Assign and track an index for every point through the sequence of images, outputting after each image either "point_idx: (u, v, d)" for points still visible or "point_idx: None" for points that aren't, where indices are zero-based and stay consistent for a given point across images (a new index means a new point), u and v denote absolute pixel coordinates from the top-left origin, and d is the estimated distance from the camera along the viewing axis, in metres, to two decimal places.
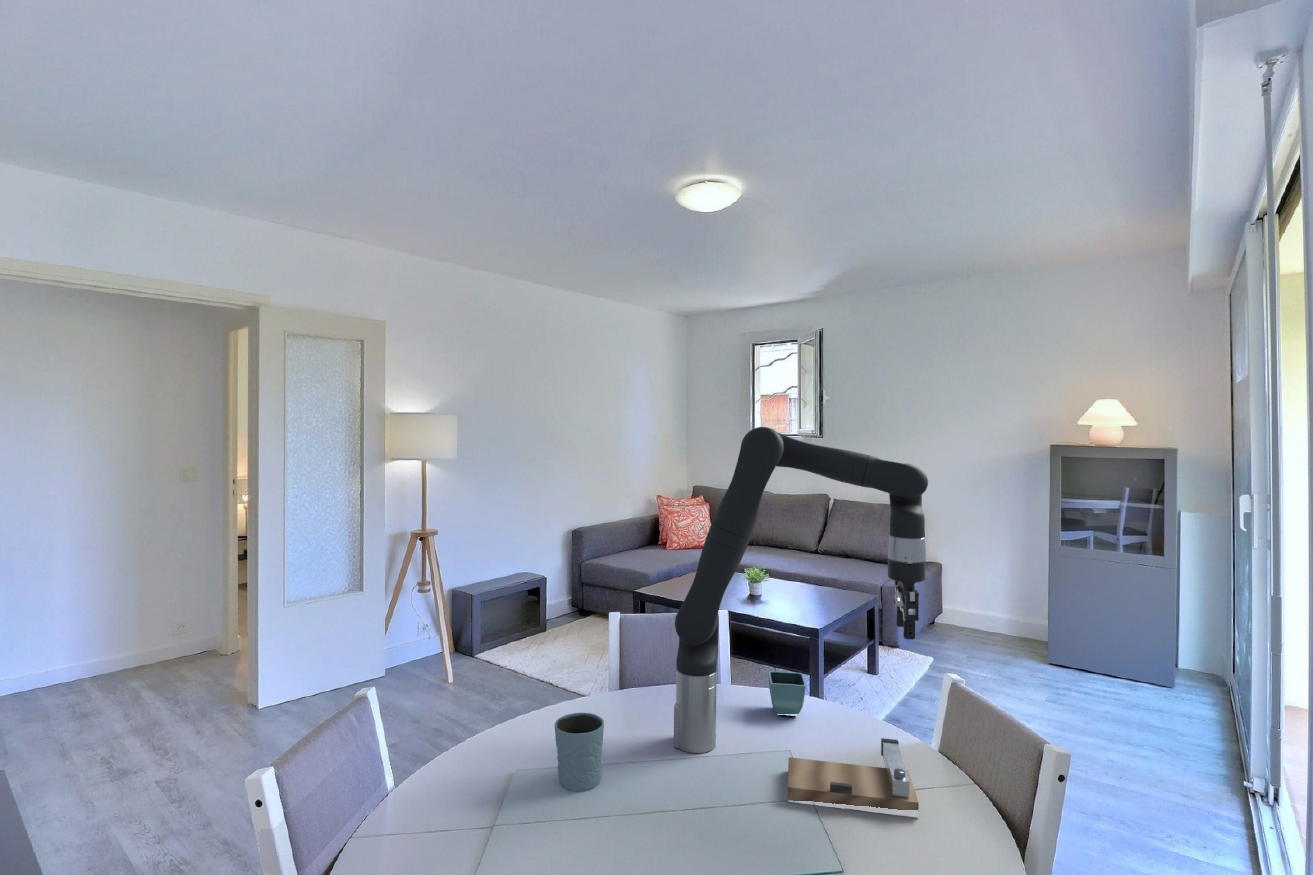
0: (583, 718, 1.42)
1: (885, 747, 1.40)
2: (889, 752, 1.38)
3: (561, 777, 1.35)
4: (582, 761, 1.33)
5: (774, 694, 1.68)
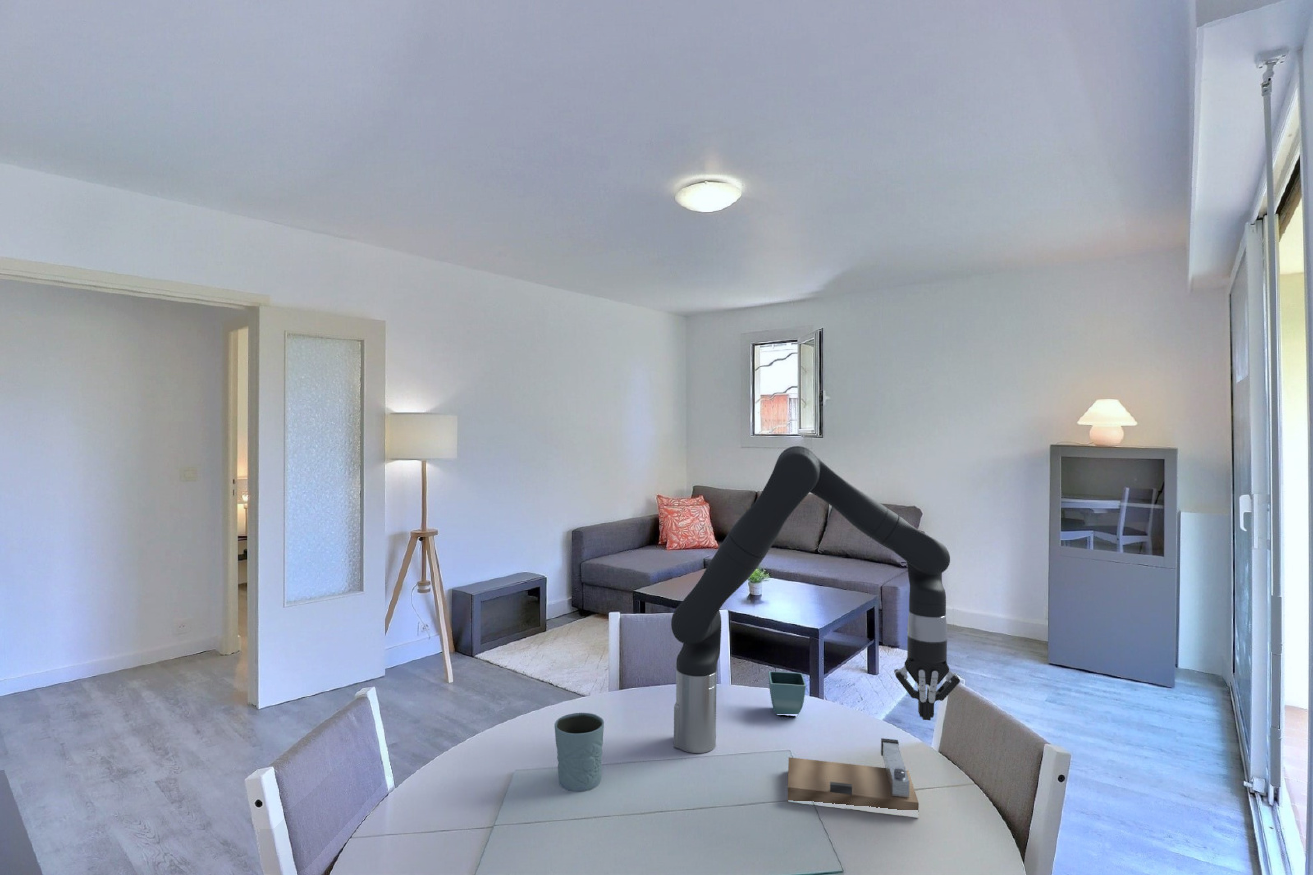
0: (583, 718, 1.42)
1: (885, 747, 1.40)
2: (889, 752, 1.38)
3: (561, 777, 1.35)
4: (582, 761, 1.33)
5: (774, 694, 1.68)
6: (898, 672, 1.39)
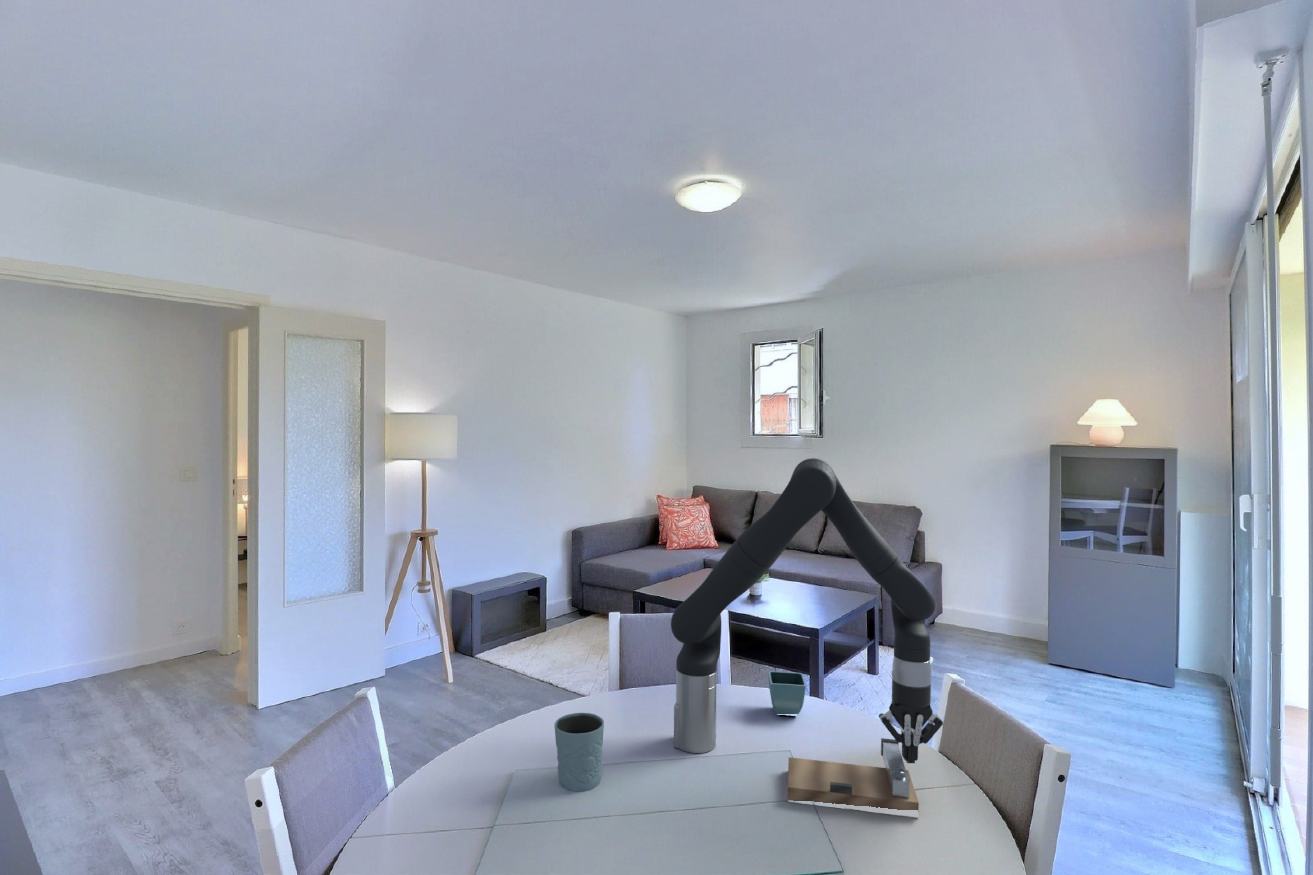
0: (583, 718, 1.42)
1: (885, 747, 1.40)
2: (889, 752, 1.38)
3: (561, 777, 1.35)
4: (582, 761, 1.33)
5: (774, 694, 1.68)
6: (884, 717, 1.39)
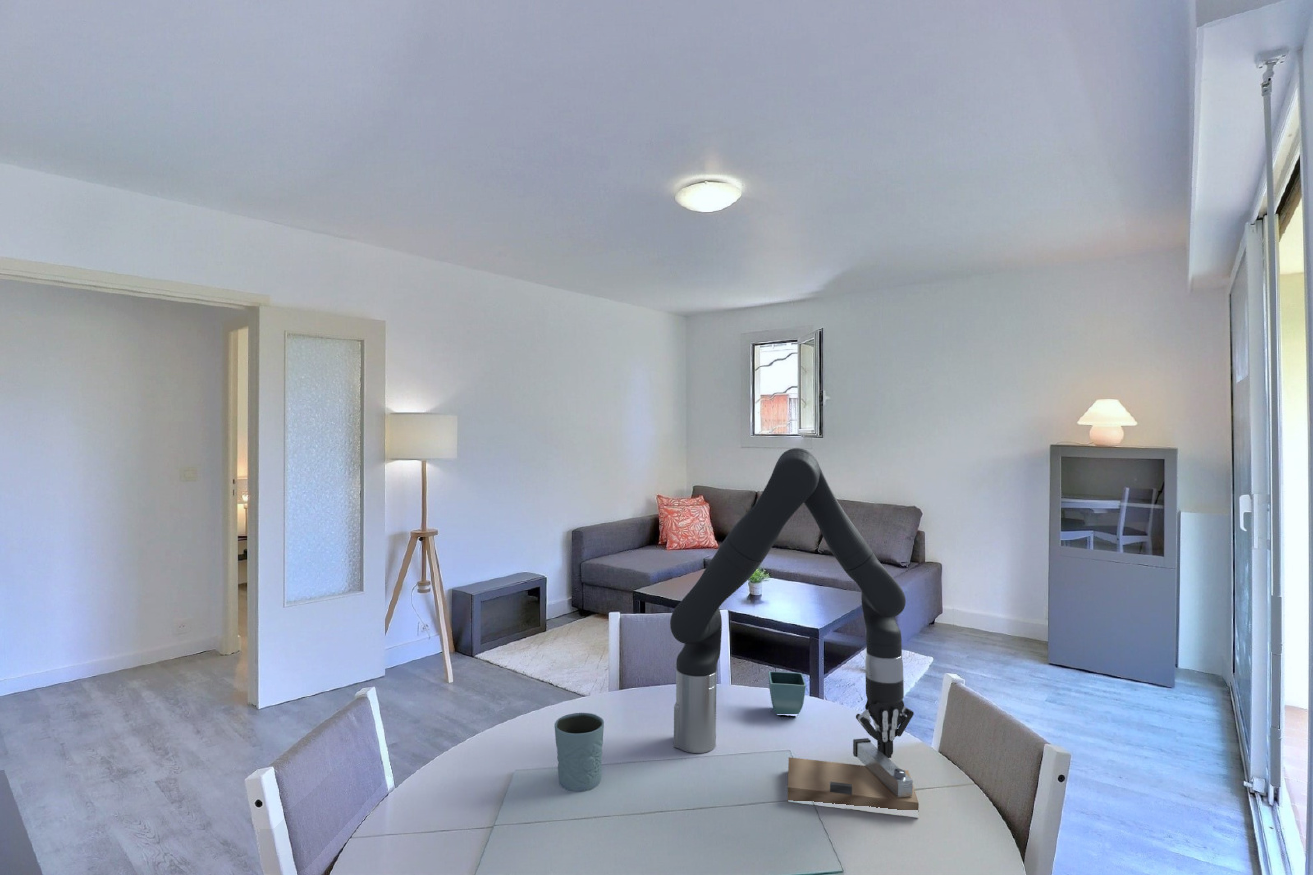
0: (583, 718, 1.42)
1: (864, 748, 1.40)
2: (871, 753, 1.38)
3: (561, 777, 1.35)
4: (582, 761, 1.33)
5: (774, 694, 1.68)
6: (863, 717, 1.38)
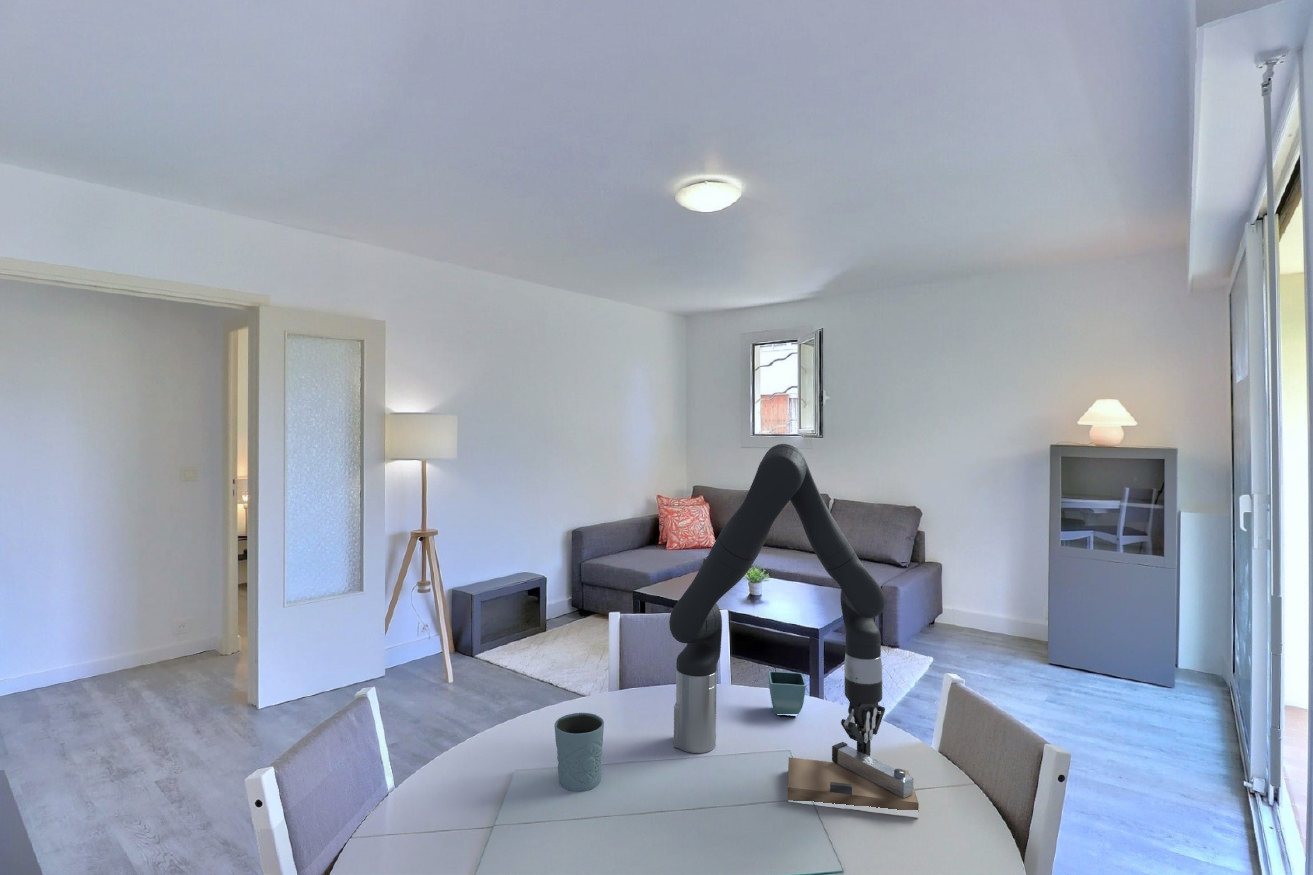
0: (583, 718, 1.42)
1: (847, 753, 1.38)
2: (858, 756, 1.36)
3: (561, 777, 1.35)
4: (582, 761, 1.33)
5: (774, 694, 1.68)
6: (850, 722, 1.36)
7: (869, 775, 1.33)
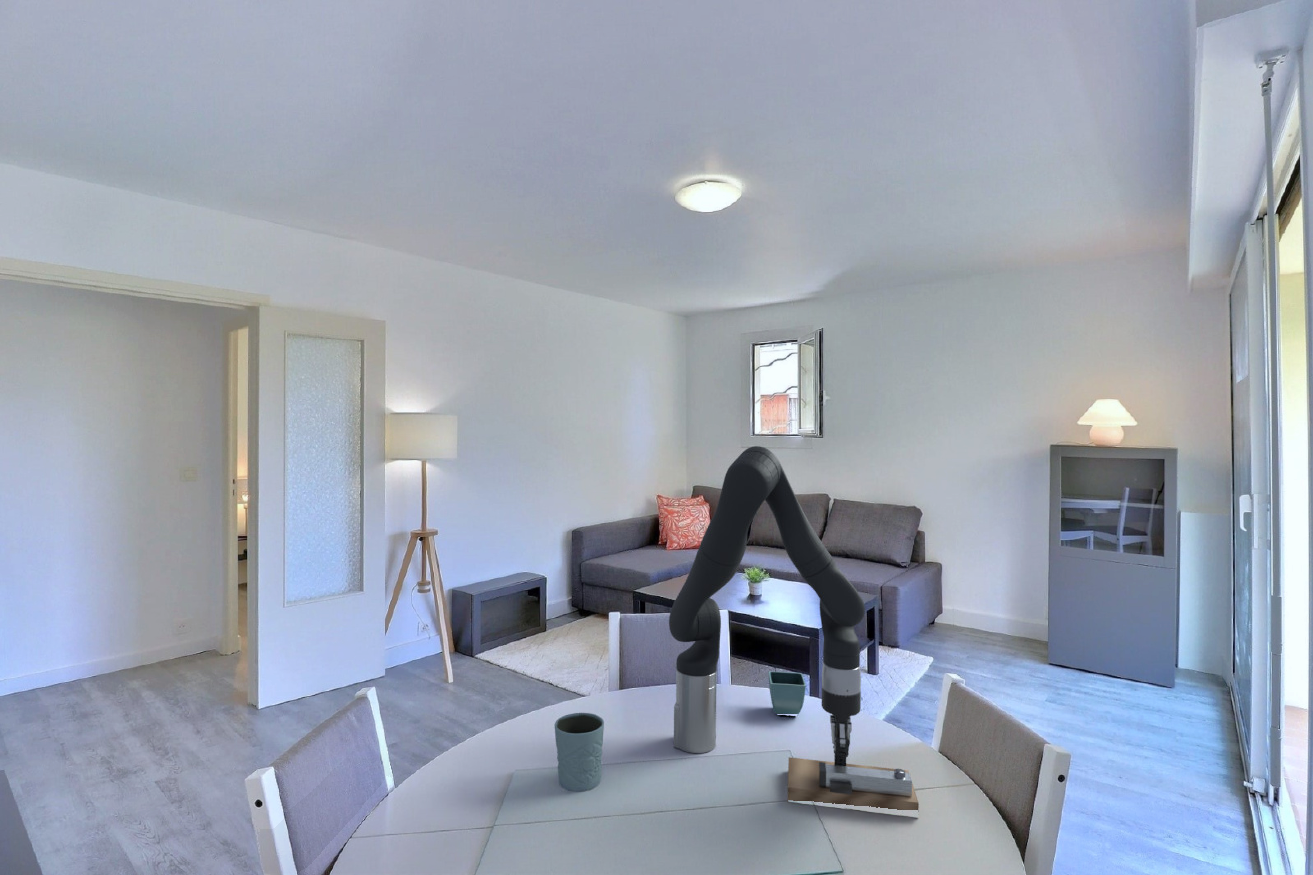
0: (583, 718, 1.42)
1: (839, 772, 1.30)
2: (850, 772, 1.30)
3: (561, 777, 1.35)
4: (582, 761, 1.33)
5: (774, 694, 1.68)
6: (846, 738, 1.29)
7: (869, 786, 1.29)
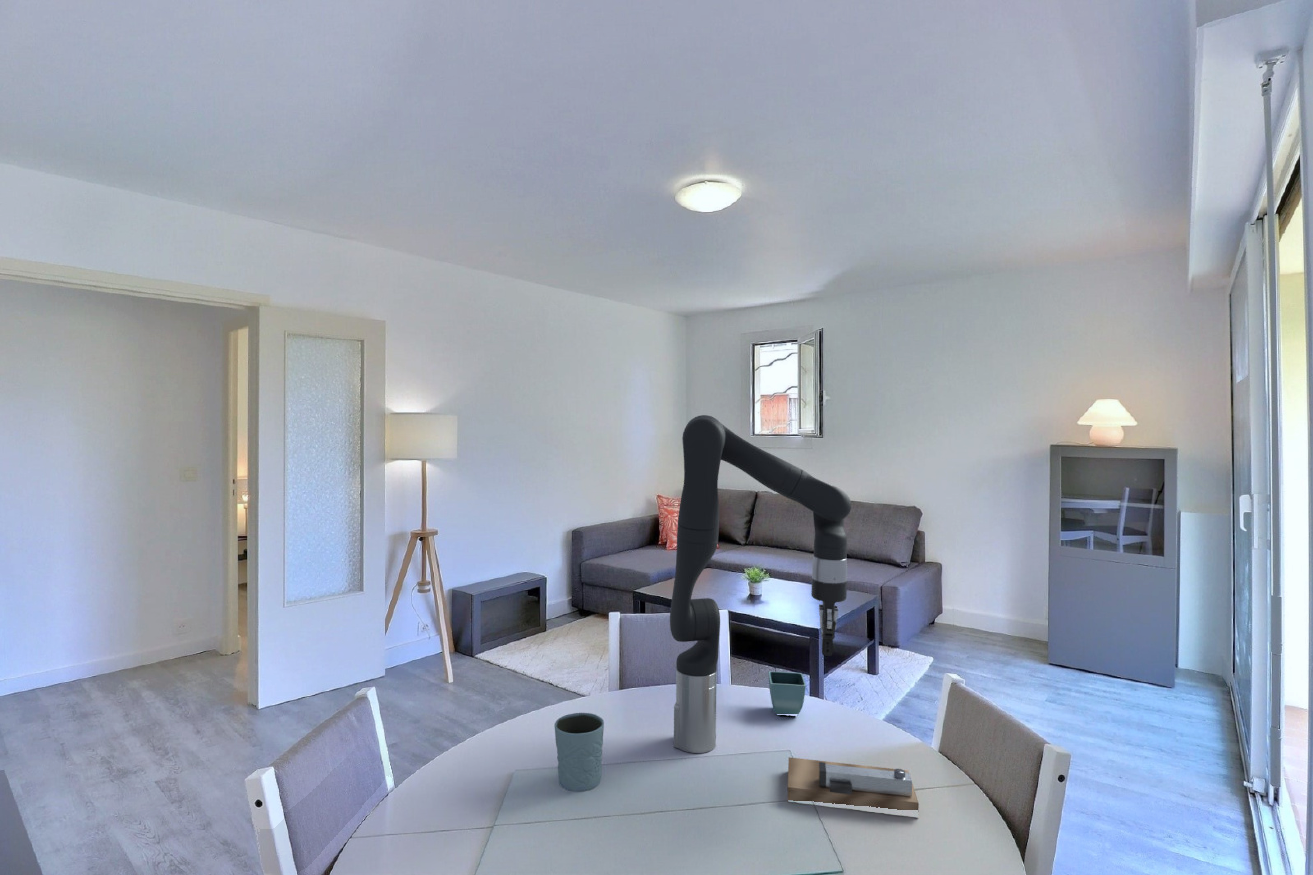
0: (583, 718, 1.42)
1: (839, 772, 1.30)
2: (850, 772, 1.30)
3: (561, 777, 1.35)
4: (582, 761, 1.33)
5: (774, 694, 1.68)
6: (833, 620, 1.43)
7: (869, 786, 1.29)
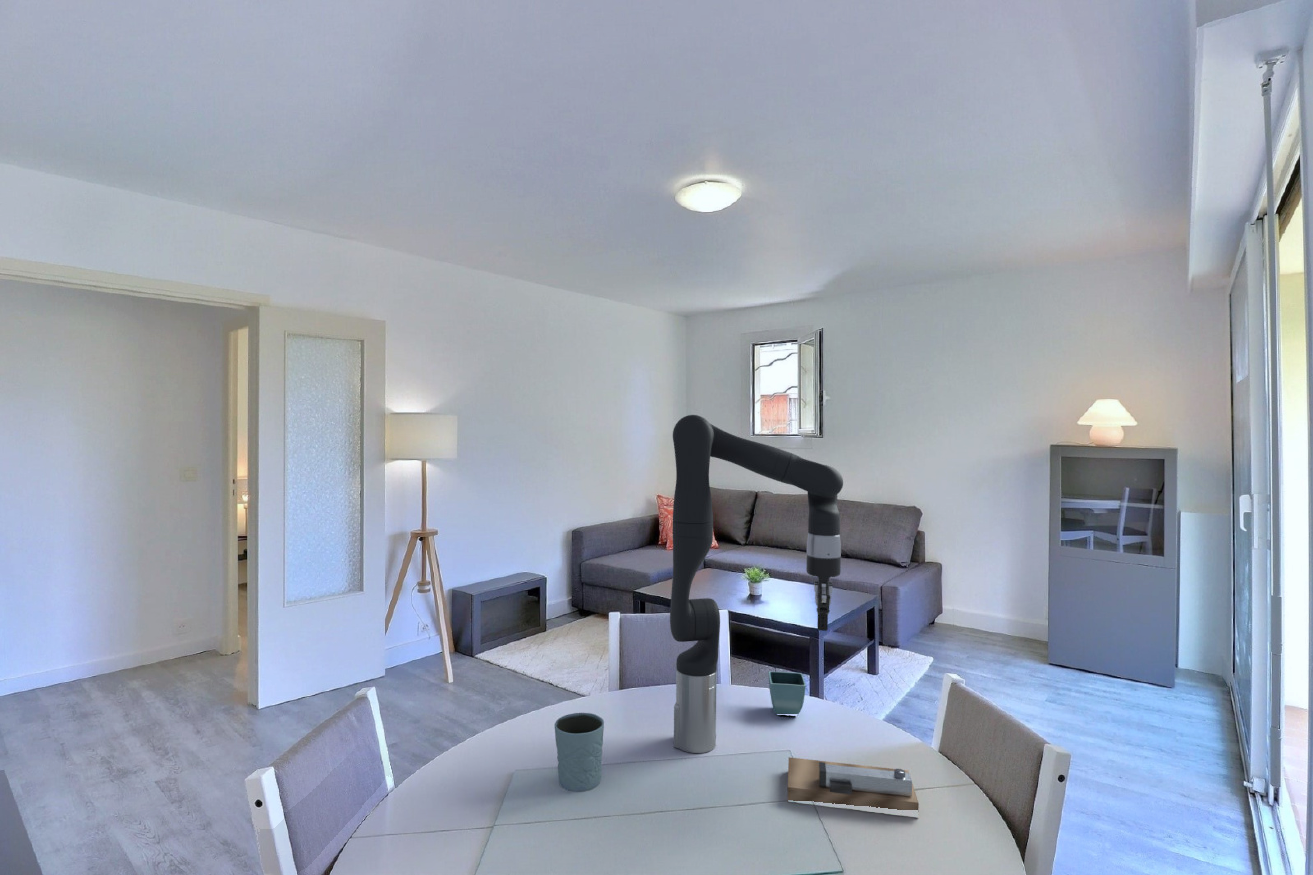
0: (583, 718, 1.42)
1: (839, 772, 1.30)
2: (850, 772, 1.30)
3: (561, 777, 1.35)
4: (582, 761, 1.33)
5: (774, 694, 1.68)
6: (827, 594, 1.47)
7: (869, 786, 1.29)
